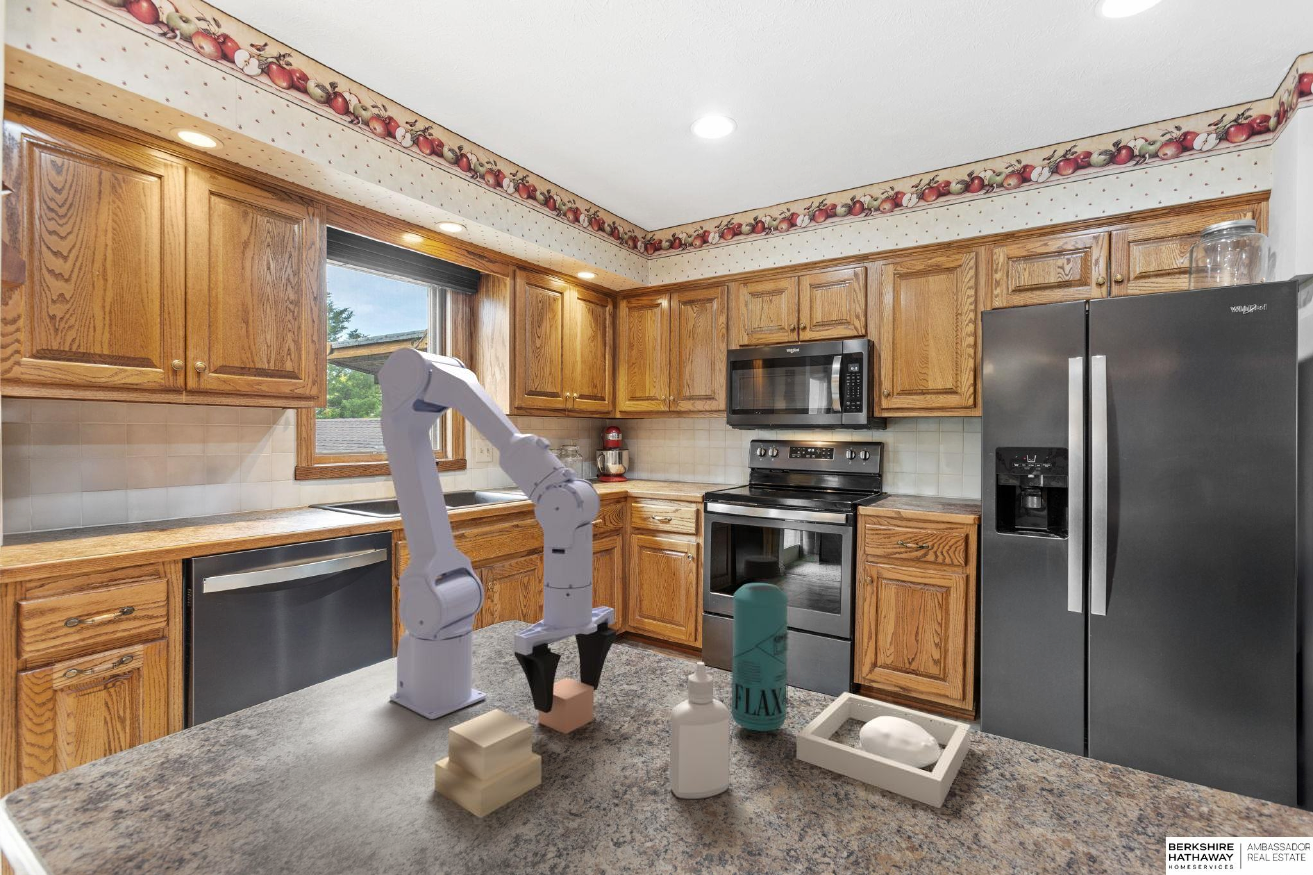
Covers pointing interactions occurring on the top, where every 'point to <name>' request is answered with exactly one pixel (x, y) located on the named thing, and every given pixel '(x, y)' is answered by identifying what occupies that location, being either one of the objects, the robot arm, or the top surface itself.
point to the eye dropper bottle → (699, 741)
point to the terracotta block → (569, 706)
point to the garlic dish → (879, 769)
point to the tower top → (490, 743)
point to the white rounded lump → (899, 741)
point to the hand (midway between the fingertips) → (567, 698)
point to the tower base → (486, 784)
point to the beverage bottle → (759, 649)
